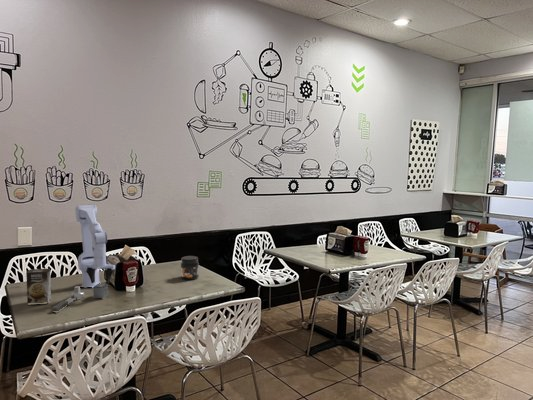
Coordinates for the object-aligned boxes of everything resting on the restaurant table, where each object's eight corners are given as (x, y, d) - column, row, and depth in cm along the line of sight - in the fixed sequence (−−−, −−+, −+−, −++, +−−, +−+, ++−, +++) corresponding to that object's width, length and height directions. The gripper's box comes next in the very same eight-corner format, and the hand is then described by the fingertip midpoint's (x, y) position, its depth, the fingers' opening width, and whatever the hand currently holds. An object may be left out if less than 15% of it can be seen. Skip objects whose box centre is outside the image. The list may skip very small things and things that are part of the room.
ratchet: (74, 295, 208) (74, 284, 207) (86, 295, 208) (86, 285, 207) (48, 312, 185) (47, 300, 185) (61, 313, 185) (60, 301, 184)
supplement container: (177, 279, 237) (177, 259, 236) (185, 274, 247) (185, 254, 246) (193, 281, 234) (193, 260, 233) (201, 276, 244) (201, 256, 243)
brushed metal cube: (98, 295, 209) (98, 283, 208) (107, 295, 209) (107, 284, 208) (93, 298, 204) (93, 286, 203) (103, 298, 204) (103, 287, 203)
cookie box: (27, 306, 193) (25, 272, 191) (30, 301, 199) (29, 268, 197) (48, 304, 195) (47, 271, 193) (51, 299, 201) (50, 267, 199)
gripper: (81, 257, 200) (82, 284, 202) (110, 258, 199) (111, 285, 201) (88, 254, 207) (89, 280, 209) (116, 255, 206) (117, 281, 208)
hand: (100, 282), depth 205 cm, fingers open, 7 cm apart
